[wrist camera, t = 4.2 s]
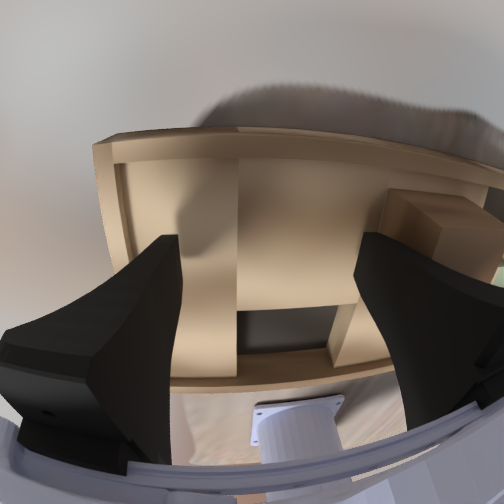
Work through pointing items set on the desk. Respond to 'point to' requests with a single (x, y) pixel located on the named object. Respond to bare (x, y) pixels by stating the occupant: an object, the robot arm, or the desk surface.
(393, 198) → the walnut block
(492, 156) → the desk surface
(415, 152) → the tray
